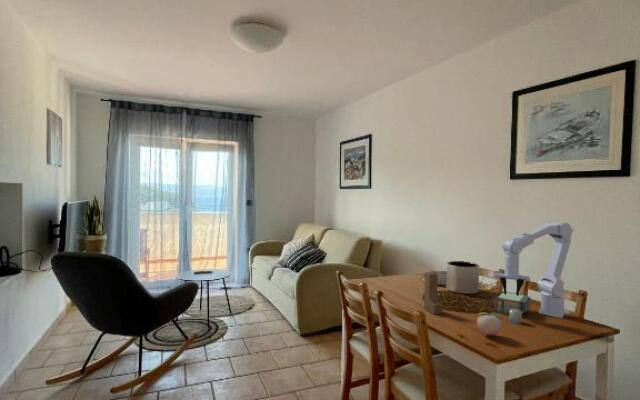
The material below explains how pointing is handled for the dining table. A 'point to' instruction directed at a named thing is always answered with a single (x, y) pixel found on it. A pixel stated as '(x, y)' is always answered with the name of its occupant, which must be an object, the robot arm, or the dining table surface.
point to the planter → (462, 277)
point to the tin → (441, 277)
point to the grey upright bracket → (431, 294)
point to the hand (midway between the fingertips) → (511, 294)
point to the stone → (515, 316)
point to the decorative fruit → (489, 323)
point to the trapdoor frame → (506, 305)
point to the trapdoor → (524, 299)
